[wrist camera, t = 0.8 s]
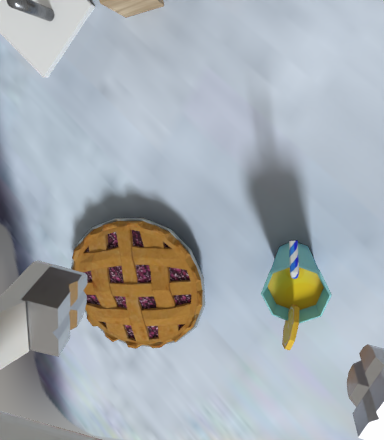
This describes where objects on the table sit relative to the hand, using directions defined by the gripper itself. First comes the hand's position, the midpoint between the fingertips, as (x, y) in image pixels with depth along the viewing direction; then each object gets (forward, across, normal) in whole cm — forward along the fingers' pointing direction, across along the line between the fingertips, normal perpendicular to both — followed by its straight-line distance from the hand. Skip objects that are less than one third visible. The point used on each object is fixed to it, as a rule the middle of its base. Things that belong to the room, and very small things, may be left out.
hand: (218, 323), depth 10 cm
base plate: (+46, +33, -5) cm, 56 cm away
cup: (+36, -11, +19) cm, 43 cm away
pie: (+37, +10, +30) cm, 49 cm away
